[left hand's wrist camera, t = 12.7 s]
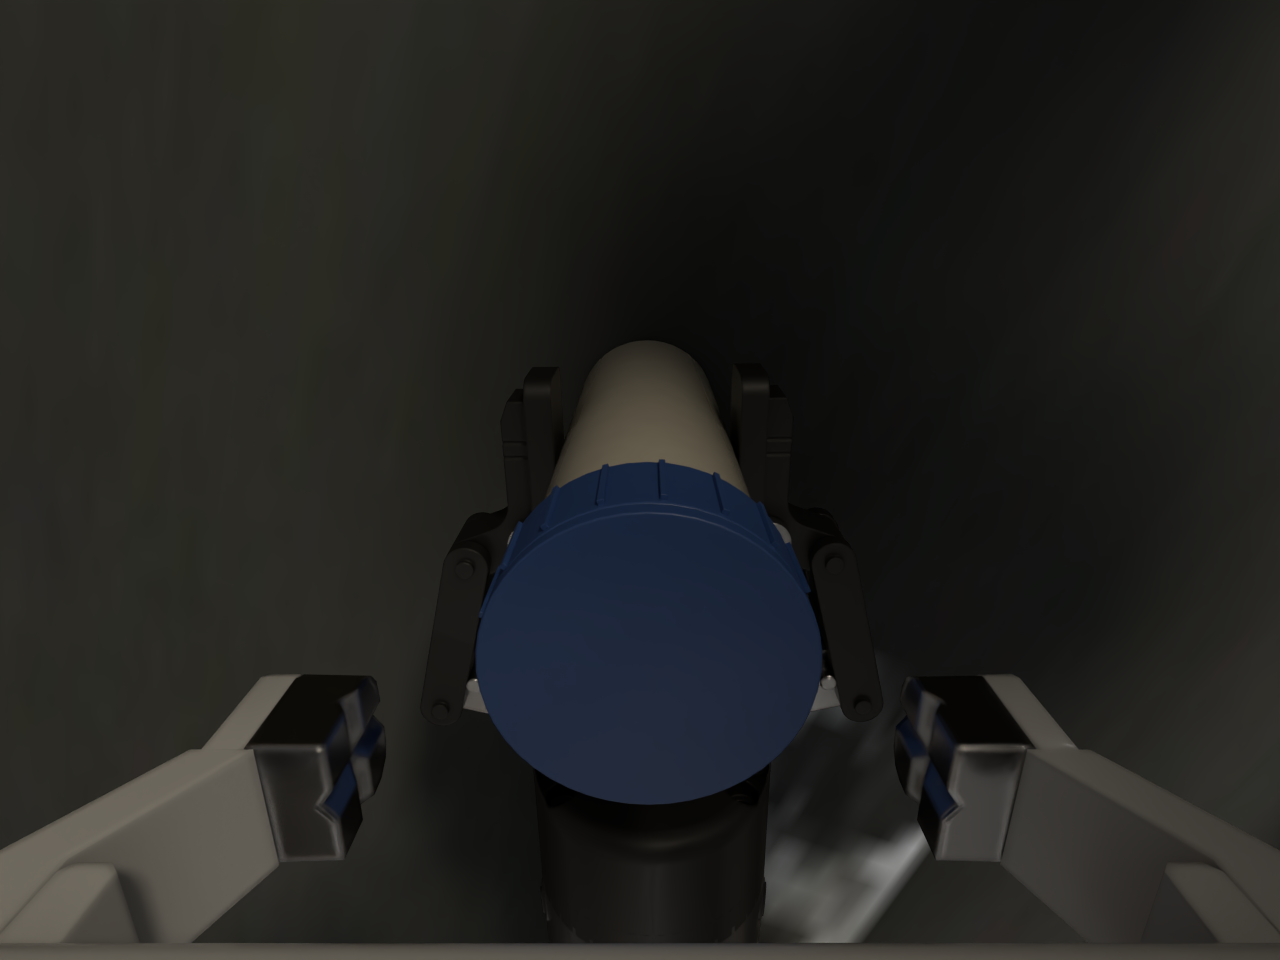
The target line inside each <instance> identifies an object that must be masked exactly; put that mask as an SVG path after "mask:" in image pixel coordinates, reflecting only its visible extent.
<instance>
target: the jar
mask: <svg viewBox="0 0 1280 960" xmlns="http://www.w3.org/2000/svg"><path fill="white" fill-rule="evenodd" d="M659 459H665V463H671V464H676V465H682V466H687V467H691V468H694V469H697V470H700V471H704V472H707V473H709V474H711V475H713V473H714V472H716V473H718V474H720V478H721V479H722V480H724V481H726V482H728V483H730V484H731V485H733V486H734V487H736V488H738V489H739V490H741V491H742V492H744V493H745V494H746V495H747V496H748V497H750V495H749V492H748V489H747V486H746V484H745V481H744V478H743V475H742V472H741V470H740V467H739V464H738V461H737V458H736V456H735V453H734V450H733V447H732V444H731V442H730V439H729V436H728V433H727V431H726V428H725V425H724V422H723V419H722V417H721V414H720V411H719V408H718V405H717V403H716V400H715V397H714V394H713V391H712V389H711V386H710V383H709V381H708V379H707V376H706V374H705V373H704V371H703V370H702V368H701V367H700V365H699V364H698V363H697V362H696V361H695V360H694V359H693V358H692V357H691V356H690V355H689V354H687V353H686V352H684V351H683V350H681V349H679V348H677V347H675V346H673V345H670V344H667V343H664V342H659V341H651V340H643V341H635V342H630V343H626V344H624V345H621V346H619V347H617V348H615V349H613V350H611V351H610V352H608V353H607V354H605V355H604V356H603V357H602V358H601V359H600V360H599V361H598V362H597V363H596V364H595V365H594V366H593V368H592V369H591V371H590V373H589V374H588V376H587V378H586V380H585V383H584V386H583V388H582V391H581V394H580V397H579V400H578V403H577V406H576V409H575V412H574V415H573V418H572V420H571V423H570V426H569V429H568V432H567V435H566V438H565V441H564V444H563V447H562V450H561V452H560V455H559V458H558V461H557V464H556V467H555V470H554V473H553V476H552V479H551V481H550V484H549V487H548V490H547V493H546V496H545V499H546V498H547V497H548V496H549V495H550V494H551V491H552V488H554V487H555V486H556V485H557V486H558V487H559V488H561V487H562V486H564V485H565V484H567V483H568V482H570V481H572V480H574V479H576V478H578V477H581V476H583V475H585V474H587V473H590V472H593V471H596V470H599V469H602V465H604V464H609V466H615V465H620V464H625V463H637V462H659ZM750 498H751V497H750ZM545 499H544V500H545Z"/></svg>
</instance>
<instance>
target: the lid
mask: <svg viewBox="0 0 1280 960" xmlns="http://www.w3.org/2000/svg"><path fill="white" fill-rule="evenodd" d="M809 592H811V590H810V588H809V585H808V583H807V581H806V578H805V576H804V574H803V571H802V569H801V567H800V564H799V562H798V560H797V557H796V555H795V553H794V550H793V548H792V546H791V543H790V542H788V543H786V544H785V542H784V540H783V538H782V536H781V534H780V532H779V531H778V529H777V528H776V526H775V525H774V523H773V522H772V520H771V519H770V518H769V516H768V515H767V512H766V510H765V507H764V505H763V504H762V503H761V502H760V501H759V502H758V503H755V502H754V501H753V500H752V499H751V498H750V497H748V496H747V495H746V494H745V493H744V492H742V491H741V490H739V489H738V488H736V487H734V486H733V485H731V484H730V483H728V482H726V481H724V480H722V479H721V478H720V474H718V473H716V472H714V473H713V475H711V474H709V473H707V472H704V471H700V470H697V469H694V468H691V467H687V466H682V465H676V464H671V463H665V459H659V462H637V463H625V464H620V465H615V466H609V464H604V465H602V469H599V470H596V471H593V472H590V473H587V474H585V475H583V476H581V477H578V478H576V479H574V480H572V481H570V482H568V483H567V484H565V485H564V486H562V487H561V488H559V487H558V486H557V485H556V486H555V487H554V488H552V491H551V494H550V495H549V496H548V497H547V498H546V499H545V500H543V501H542V502H541V503H540V504H539V505H538V506H537V507H536V508H535V509H534V510H533V511H532V512H531V514H530V515H529V516H528V517H527V518H526V519H525V521H524V522H523V523H522V522H520V521H519V522H518V523H517V525H516V527H515V529H514V532H513V534H512V537H511V539H510V542H509V544H508V547H507V549H506V552H505V554H504V557H503V559H502V561H501V564H500V566H498V568H497V571H496V573H495V575H494V578H493V580H492V583H491V585H490V588H489V590H488V593H487V595H486V598H485V600H484V602H483V605H482V607H481V610H480V612H479V618H482V619H481V622H480V626H479V629H478V634H477V641H476V649H475V661H476V674H477V680H478V685H479V690H480V693H481V696H482V699H483V702H484V704H485V707H486V709H487V711H488V713H489V715H490V717H491V719H492V721H493V723H494V725H495V726H496V728H497V729H498V731H499V732H500V734H501V735H502V736H503V738H504V739H505V741H506V742H507V743H508V744H509V745H510V746H511V747H512V748H513V749H514V751H515V752H516V753H517V754H518V755H519V756H520V757H522V758H523V759H524V760H525V761H526V762H527V763H529V764H530V765H531V766H532V767H533V768H535V769H536V770H538V771H539V772H541V773H542V774H544V775H545V776H547V777H548V778H550V779H552V780H554V781H556V782H558V783H560V784H562V785H563V786H565V787H567V788H570V789H572V790H575V791H578V792H580V793H583V794H586V795H588V796H592V797H596V798H600V799H604V800H608V801H614V802H620V803H627V804H644V805H653V804H671V803H677V802H684V801H690V800H694V799H698V798H702V797H706V796H709V795H712V794H715V793H718V792H720V791H723V790H725V789H728V788H730V787H732V786H734V785H736V784H738V783H740V782H742V781H744V780H746V779H748V778H749V777H751V776H752V775H754V774H755V773H757V772H758V771H760V770H761V769H763V768H764V767H766V766H767V765H768V764H769V763H770V762H771V761H773V760H774V759H775V758H776V757H777V756H779V755H780V753H781V752H782V751H783V750H784V749H785V748H786V747H787V746H788V745H789V744H790V743H791V741H792V740H793V739H794V737H795V736H796V735H797V733H798V732H799V730H800V729H801V727H802V726H803V724H804V722H805V720H806V719H807V717H808V715H809V713H810V711H811V709H812V706H813V703H814V700H815V697H816V694H817V691H818V688H819V683H820V677H821V671H822V645H821V637H820V631H819V628H818V624H817V621H816V618H815V614H814V611H813V609H812V606H811V604H810V602H809V599H808V597H807V594H806V593H809Z"/></svg>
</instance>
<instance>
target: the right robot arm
mask: <svg viewBox="0 0 1280 960" xmlns="http://www.w3.org/2000/svg"><path fill="white" fill-rule="evenodd" d="M500 422H501V433H502V441H503V456H504V467H505V478H506V490H507V501H508V506H507V507H506V508H504V509H502V510H500V511H497V512H494V513H491V514H489V513H484V512H481V513H476V514H473V515H472V516H470V517H469V518H468V519H467V521H466V523H465V524H464V526H463V528H462V529H461V531H460V533H459V535H458V537H457V538H456V540H455V542H454V544H453V545H452V547H451V549H450V551H449V553H448V554H447V556H446V558H445V560H444V563H443V569H442V575H441V581H440V588H439V594H438V600H437V606H436V612H435V619H434V625H433V631H432V637H431V643H430V650H429V656H428V662H427V668H426V674H425V680H424V687H423V693H422V699H421V706H420V709H421V713H422V715H423V716H424V718H425V719H426V720H428V721H429V722H431V723H433V724H435V725H439V726H447V725H451V724H453V723H455V722H456V721H457V720H458V719H459V718H460V716H461V713H462V710H463V708H464V709H469V710H474V711H479V712H484V713H488V711H487V709H486V707H485V704H484V702H483V699H482V696H481V693H480V690H479V685H478V680H477V674H476V661H475V649H476V641H477V634H478V629H479V626H480V622H481V619H482V618H479V612H480V610H481V607H482V605H483V602H484V600H485V598H486V595H487V593H488V590H489V588H490V585H491V583H492V580H493V578H494V575H495V573H496V571H497V568H498V566H500V564H501V561H502V559H503V557H504V554H505V552H506V549H507V547H508V544H509V542H510V539H511V537H512V534H513V532H514V529H515V527H516V525H517V523H518V522H519V521H520V522H522V523H523V522H524V521H525V519H526V518H527V517H528V516H529V515H530V514H531V512H532V511H533V510H534V509H535V508H536V507H537V506H538V505H539V504H540V503H541V502H542V501H543V500H544V499H545V496H546V493H547V490H548V487H549V484H550V481H551V479H552V476H553V473H554V470H555V467H556V464H557V461H558V458H559V455H560V452H561V450H562V447H563V444H564V430H563V412H562V395H561V378H560V370H559V367H532V369H531V370H530V372H529V373H528V375H527V376H526V377H525V380H524V386H523V389H516V390H515V391H514V393H513V394H512V395H511V397H510V398H509V400H508V401H507V403H506V406H505V409H504V412H503V415H502V418H501V421H500ZM792 431H793V414H792V412H791V409H790V406H789V403H788V400H787V398H786V396H785V395H784V394H783V392H782V391H781V389H780V388H779V387H778V385H769V377H768V374H767V373H766V371H765V370H764V368H763V367H762V366H761V364H734V365H733V370H732V392H731V423H730V442H731V444H732V447H733V450H734V453H735V456H736V458H737V461H738V464H739V467H740V470H741V472H742V475H743V478H744V481H745V484H746V486H747V489H748V492H749V495H750V497H751V499H752V500H753V501H754V502H755V503H758V502H759V501H760V502H761V503H762V504H763V505H764V507H765V510H766V512H767V515H768V516H769V518H770V519H771V520H772V522H773V523H774V525H775V526H776V528H777V529H778V531H779V532H780V534H781V536H782V538H783V540H784V542H785V544H786V543H788V542H790V543H791V546H792V548H793V550H794V553H795V555H796V557H797V560H798V562H799V564H800V567H801V568H802V569H803V572H804V576H805V578H806V581H807V583H808V585H809V588H810V590H811V592H809V593H808V595H809V599H810V604H811V606H812V609H813V611H814V614H815V618H816V621H817V624H818V628H819V631H820V637H821V645H822V671H821V677H820V683H819V688H818V691H817V694H816V697H815V700H814V703H813V706H812V709H811V711H810V712H812V711H816V710H821V709H826V708H830V707H835V706H841V709H842V712H843V713H844V715H845V716H846V717H847V718H848V719H850V720H853V721H856V722H864V721H868V720H871V719H873V718H875V717H876V716H877V715H878V714H879V713H880V712H881V710H882V707H883V698H882V692H881V687H880V682H879V676H878V671H877V666H876V660H875V655H874V650H873V644H872V639H871V634H870V628H869V623H868V617H867V612H866V607H865V601H864V596H863V591H862V585H861V580H860V575H859V569H858V564H857V559H856V555H855V553H854V551H853V550H852V548H851V546H850V545H849V544H848V542H847V541H845V540H844V538H843V536H842V535H841V533H840V531H839V529H838V525H837V523H836V521H835V520H834V518H833V516H832V515H831V514H830V513H829V512H828V511H826V510H825V509H822V508H811V509H807V510H805V509H802V508H799V507H796V506H794V505H792V504H790V503H788V493H789V477H790V462H791V446H792ZM770 768H771V762H770V763H769V764H768V765H767V766H766V767H764V768H763V769H761V770H760V771H758V772H757V773H755V774H754V775H752V776H751V777H749V778H748V779H746V780H744V781H742V782H740V783H738V784H736V785H734V786H732V787H730V788H728V789H725V790H723V791H720V792H718V793H715V794H712V795H709V796H706V797H702V798H698V799H694V800H690V801H684V802H677V803H671V804H653V805H644V804H627V803H620V802H614V801H608V800H604V799H600V798H596V797H592V796H588V795H586V794H583V793H580V792H578V791H575V790H572V789H570V788H567V787H565V786H563V785H562V784H560V783H558V782H556V781H554V780H552V779H550V778H548V777H547V776H545V775H544V774H542V773H541V772H539V771H538V770H536V769H535V768H533V770H534V781H535V792H536V804H537V816H538V827H539V839H540V851H541V863H542V875H543V878H542V885H541V887H540V890H541V901H542V909H543V913H545V917H546V920H547V929H548V936H549V941H550V943H758V940H759V933H760V923H761V917H762V916H763V914H764V907H765V896H766V882H765V878H764V864H765V846H766V830H767V814H768V799H769V783H770Z"/></svg>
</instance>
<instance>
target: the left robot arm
mask: <svg viewBox="0 0 1280 960" xmlns="http://www.w3.org/2000/svg"><path fill="white" fill-rule="evenodd" d="M379 702H380V697H379V692H378V686H377V681H376V680H375V679H374V678H373V677H372V676H357V675H311V674H304V675H300V674H269V675H266V676H264V677H261V678H260V679H259V680H258V681H257V683H256V684H255V685H254V686H253V687H252V689H251V690H250V691H249V692H248V693H247V695H246V696H245V697H244V698H243V699H242V701H241V702H240V703H239V704H238V706H237V707H236V708H235V709H234V710H233V712H232V713H231V714H230V715H229V716H228V718H227V719H226V720H225V721H224V722H223V724H222V725H221V726H220V727H219V729H218V730H217V731H216V732H215V733H214V735H213V736H212V737H211V738H210V739H209V741H208V742H207V743H206V744H205V745H204V747H203V748H202V749H201V750H188V751H186V752H185V753H183V754H181V755H179V756H177V757H175V758H173V759H171V760H169V761H168V762H166V763H164V764H162V765H160V766H158V767H156V768H154V769H152V770H151V771H149V772H147V773H145V774H143V775H141V776H139V777H137V778H135V779H134V780H132V781H130V782H128V783H126V784H124V785H122V786H120V787H118V788H117V789H115V790H113V791H111V792H109V793H107V794H105V795H103V796H102V797H100V798H98V799H96V800H94V801H92V802H90V803H88V804H86V805H85V806H83V807H81V808H79V809H77V810H75V811H73V812H71V813H69V814H68V815H66V816H64V817H62V818H60V819H58V820H56V821H54V822H52V823H51V824H49V825H47V826H45V827H43V828H41V829H39V830H37V831H36V832H34V833H32V834H30V835H28V836H26V837H24V838H22V839H20V840H19V841H17V842H15V843H13V844H11V845H9V846H7V847H5V848H3V849H2V850H0V960H1280V850H1278V849H1276V848H1274V847H1272V846H1270V845H1268V844H1267V843H1265V842H1263V841H1261V840H1259V839H1257V838H1255V837H1253V836H1252V835H1250V834H1248V833H1246V832H1244V831H1242V830H1240V829H1238V828H1237V827H1235V826H1233V825H1231V824H1229V823H1227V822H1225V821H1223V820H1221V819H1220V818H1218V817H1216V816H1214V815H1212V814H1210V813H1208V812H1206V811H1205V810H1203V809H1201V808H1199V807H1197V806H1195V805H1193V804H1191V803H1190V802H1188V801H1186V800H1184V799H1182V798H1180V797H1178V796H1176V795H1174V794H1173V793H1171V792H1169V791H1167V790H1165V789H1163V788H1161V787H1159V786H1158V785H1156V784H1154V783H1152V782H1150V781H1148V780H1146V779H1144V778H1142V777H1141V776H1139V775H1137V774H1135V773H1133V772H1131V771H1129V770H1127V769H1126V768H1124V767H1122V766H1120V765H1118V764H1116V763H1114V762H1112V761H1111V760H1109V759H1107V758H1105V757H1103V756H1101V755H1099V754H1097V753H1095V752H1094V751H1092V750H1079V749H1078V748H1077V747H1076V746H1075V744H1074V743H1073V742H1072V741H1071V739H1070V738H1069V737H1068V736H1067V735H1066V733H1065V732H1064V731H1063V730H1062V729H1061V727H1060V726H1059V725H1058V724H1057V723H1056V721H1055V720H1054V719H1053V718H1052V717H1051V715H1050V714H1049V713H1048V712H1047V710H1046V709H1045V708H1044V707H1043V706H1042V704H1041V703H1040V702H1039V701H1038V700H1037V698H1036V697H1035V696H1034V695H1033V694H1032V692H1031V691H1030V690H1029V689H1028V688H1027V686H1026V685H1025V684H1024V683H1023V681H1022V680H1021V679H1020V678H1019V677H1017V676H1015V675H1013V674H989V675H976V676H916V677H906V679H905V681H904V683H903V685H902V690H901V696H900V702H901V704H902V706H903V708H904V710H905V712H906V713H907V715H906V717H905V718H904V719H903V720H902V721H901V722H900V723H899V724H898V725H897V726H896V730H895V739H894V755H895V766H896V770H897V773H898V777H899V780H900V783H901V785H902V787H903V790H904V792H905V794H906V795H907V796H908V797H910V798H911V799H912V800H914V801H915V802H917V803H918V804H919V811H918V817H917V821H918V823H919V825H920V827H921V829H922V831H923V833H924V836H925V838H926V840H927V842H928V844H929V846H930V848H931V851H932V853H933V855H934V857H935V859H936V860H957V861H992V862H1001V866H1002V867H1004V868H1005V869H1006V870H1007V871H1008V872H1009V873H1010V874H1011V875H1013V876H1014V877H1015V878H1016V879H1017V880H1018V881H1019V882H1021V883H1022V884H1023V885H1024V886H1025V887H1026V888H1027V889H1029V890H1030V891H1031V892H1032V893H1033V894H1034V895H1035V896H1036V897H1038V898H1039V899H1040V900H1041V901H1042V902H1043V903H1044V904H1046V905H1047V906H1048V907H1049V908H1050V909H1051V910H1052V911H1054V912H1055V913H1056V914H1057V915H1058V916H1059V917H1060V918H1061V919H1063V920H1064V921H1065V922H1066V923H1067V924H1068V925H1069V926H1071V927H1072V928H1073V929H1074V930H1075V931H1076V932H1077V933H1078V934H1080V935H1081V936H1082V937H1083V938H1084V939H1085V940H1086V941H1088V942H1089V943H191V942H193V941H194V940H195V939H196V938H197V937H198V936H199V935H201V934H202V933H203V932H204V931H205V930H206V929H207V928H209V927H210V926H211V925H212V924H213V923H214V922H215V921H217V920H218V919H219V918H220V917H221V916H222V915H223V914H224V913H226V912H227V911H228V910H229V909H230V908H231V907H232V906H234V905H235V904H236V903H237V902H238V901H239V900H240V899H242V898H243V897H244V896H245V895H246V894H247V893H248V892H250V891H251V890H252V889H253V888H254V887H255V886H256V885H257V884H259V883H260V882H261V881H262V880H263V879H264V878H265V877H267V876H268V875H269V874H270V873H271V872H272V871H273V870H275V869H276V868H277V867H278V866H279V862H288V861H322V860H344V859H345V857H346V855H347V853H348V851H349V849H350V846H351V844H352V842H353V840H354V838H355V836H356V833H357V831H358V829H359V827H360V825H361V823H362V821H363V817H362V811H361V804H362V803H363V802H365V801H366V800H368V799H369V798H370V797H372V796H373V795H374V794H375V792H376V790H377V787H378V785H379V783H380V780H381V778H382V773H383V768H384V763H385V759H386V737H385V730H384V726H383V725H382V724H381V723H380V722H379V721H378V720H377V719H376V718H375V717H374V715H373V713H374V712H375V710H376V708H377V706H378V704H379Z"/></svg>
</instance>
